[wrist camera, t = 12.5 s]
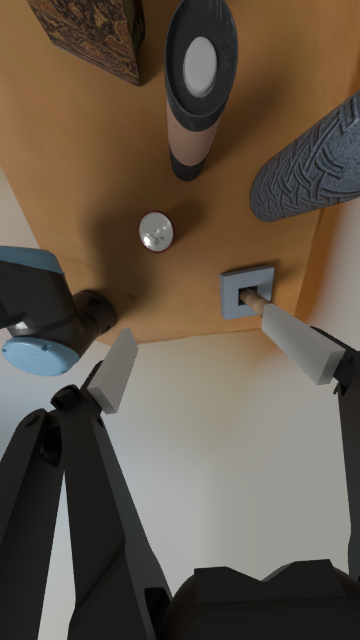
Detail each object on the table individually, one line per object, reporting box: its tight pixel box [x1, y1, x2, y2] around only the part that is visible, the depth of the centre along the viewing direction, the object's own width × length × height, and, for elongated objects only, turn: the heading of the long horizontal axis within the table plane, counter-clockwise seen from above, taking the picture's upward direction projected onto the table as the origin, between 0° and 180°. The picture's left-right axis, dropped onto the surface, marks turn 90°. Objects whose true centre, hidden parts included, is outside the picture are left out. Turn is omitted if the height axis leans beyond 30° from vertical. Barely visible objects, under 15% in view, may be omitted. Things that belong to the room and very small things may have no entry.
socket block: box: [220, 265, 275, 320], centre depth 45 cm, size 14×14×4 cm
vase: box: [250, 89, 360, 222], centre depth 23 cm, size 12×12×28 cm
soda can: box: [138, 210, 175, 253], centre depth 33 cm, size 7×7×12 cm
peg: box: [238, 287, 275, 318], centre depth 40 cm, size 4×4×15 cm
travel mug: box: [164, 0, 238, 181], centre depth 23 cm, size 8×8×20 cm
